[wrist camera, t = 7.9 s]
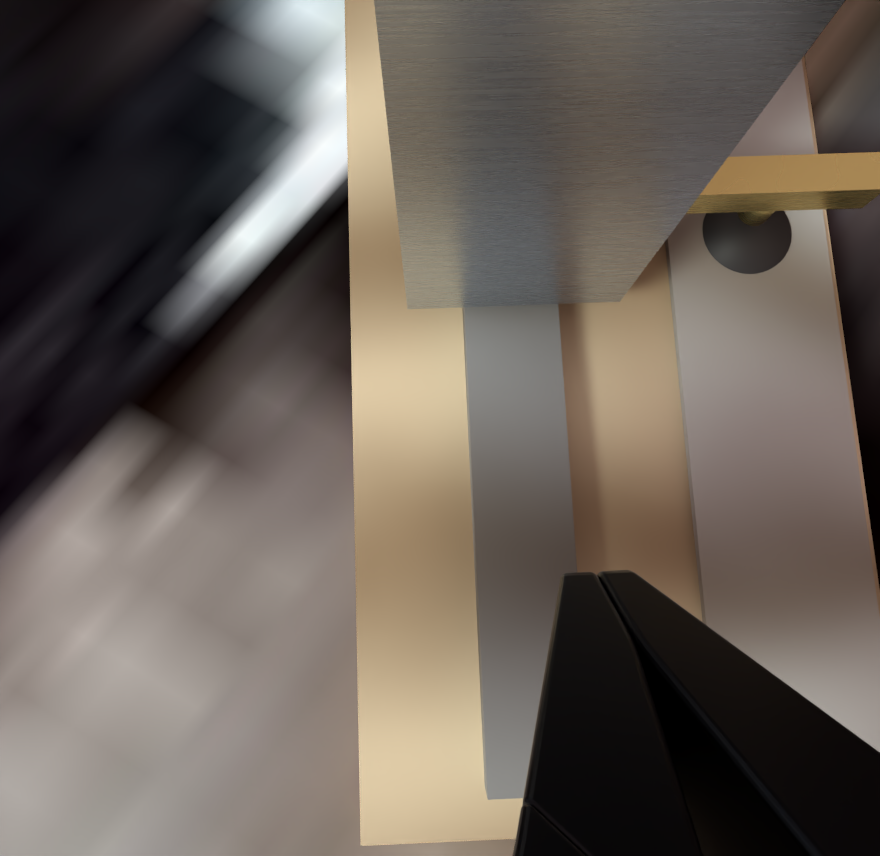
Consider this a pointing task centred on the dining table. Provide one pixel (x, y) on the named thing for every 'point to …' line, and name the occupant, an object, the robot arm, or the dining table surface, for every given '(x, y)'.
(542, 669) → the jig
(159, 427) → the dining table surface
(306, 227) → the dining table surface
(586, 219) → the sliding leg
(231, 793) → the dining table surface
